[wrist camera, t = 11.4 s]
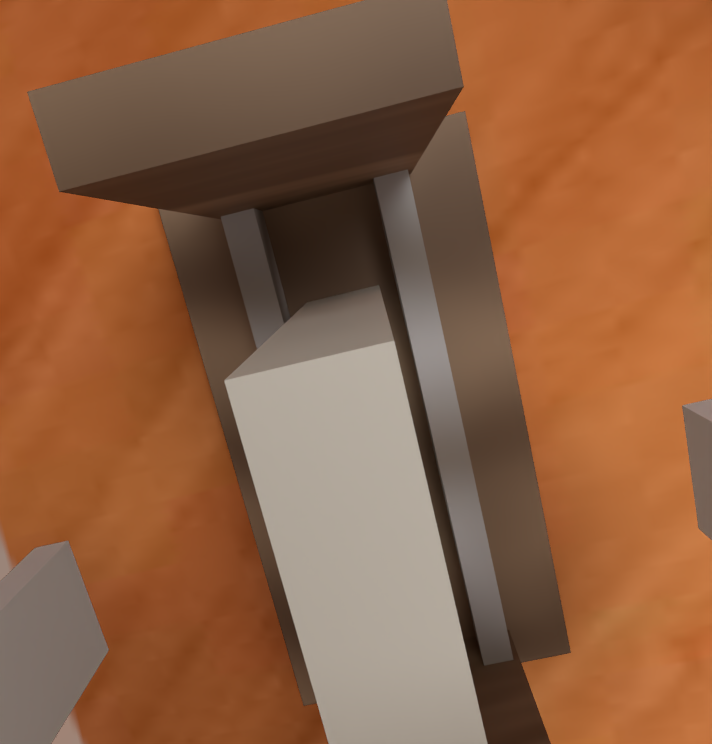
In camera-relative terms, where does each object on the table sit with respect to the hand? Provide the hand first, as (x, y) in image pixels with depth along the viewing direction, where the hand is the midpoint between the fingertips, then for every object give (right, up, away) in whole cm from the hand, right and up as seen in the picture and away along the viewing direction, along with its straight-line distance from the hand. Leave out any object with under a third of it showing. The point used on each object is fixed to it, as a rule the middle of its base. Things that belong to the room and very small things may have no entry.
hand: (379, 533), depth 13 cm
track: (0, +1, +9) cm, 9 cm away
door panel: (0, +1, +8) cm, 8 cm away
